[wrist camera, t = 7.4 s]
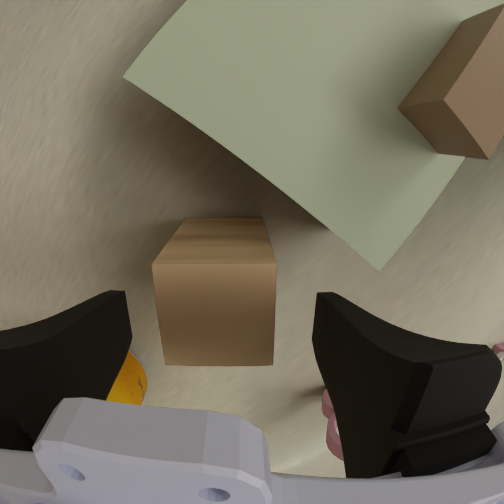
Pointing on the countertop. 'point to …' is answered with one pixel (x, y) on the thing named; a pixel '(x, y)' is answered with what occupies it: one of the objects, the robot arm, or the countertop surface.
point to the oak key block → (217, 293)
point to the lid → (339, 99)
